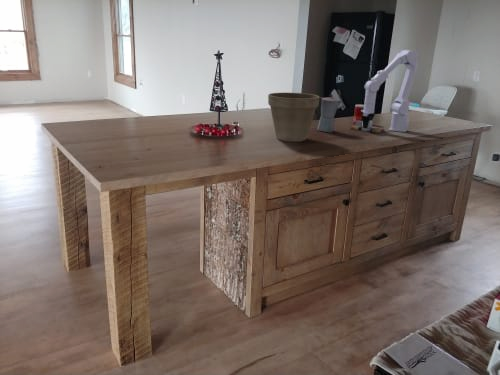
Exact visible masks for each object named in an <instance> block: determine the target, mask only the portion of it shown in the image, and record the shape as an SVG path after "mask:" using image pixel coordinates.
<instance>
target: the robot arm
mask: <svg viewBox="0 0 500 375" xmlns="http://www.w3.org/2000/svg"><path fill="white" fill-rule="evenodd" d="M419 56H420V55H419V54H418V53H417V51H416V50H413V49H401V50H400V51H399V52H398V53H397V54H396V55H395V57H394V58H393V60H391V61H390V63H389V64H387V66H386V67H385V68H384V69H381V70H378V71H377V72H376V74H375V75H374V76H373V77H371V78H370V80H367V81H366V82H365V84H364V87H363V88H364V89H365V94H364V96H365V97H364V104H363V105H364V110H361V112H363V115H361V118H362V121H363V128H367V127H368V124H369V121H370V120H372V121H373V119H374V117H375V116H376V113H375V105H376V98H377V92H378V91H379V89H380V87H381V86H382V84H383V83H384V82H386V81H387V79H388V78H389V74H390V73H391V72H393V71H394V70H395V69H396V68H397V67H398V66H399V65H402V64H404V66H405V68H406V71H405V73H404V78H403V80H402V83H401V86H400V90H399V93H398V95H397V97H396V98H394V101H393V102H392V104H391V106H390V109H391V110H390V111H391V113H392V114H391V121H390V126H389V128H388V131H394V132H401V133H406V132H407V131H408V128H409V121H410V115H407V114H408V113H409V109H410V108H409V107H410V101H409V98H410V95H411V91H412V87H413V84H414V81H415V78H416V75H417V72H418V68H419Z"/></svg>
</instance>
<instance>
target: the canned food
mask: <svg viewBox="0 0 500 375" xmlns="http://www.w3.org/2000/svg"><path fill="white" fill-rule="evenodd" d="M361 110H364V104H355V106H354V113H353V114H354V115H353V124H354V125H356V121H362V118H361V115H363V112H361Z"/></svg>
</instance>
